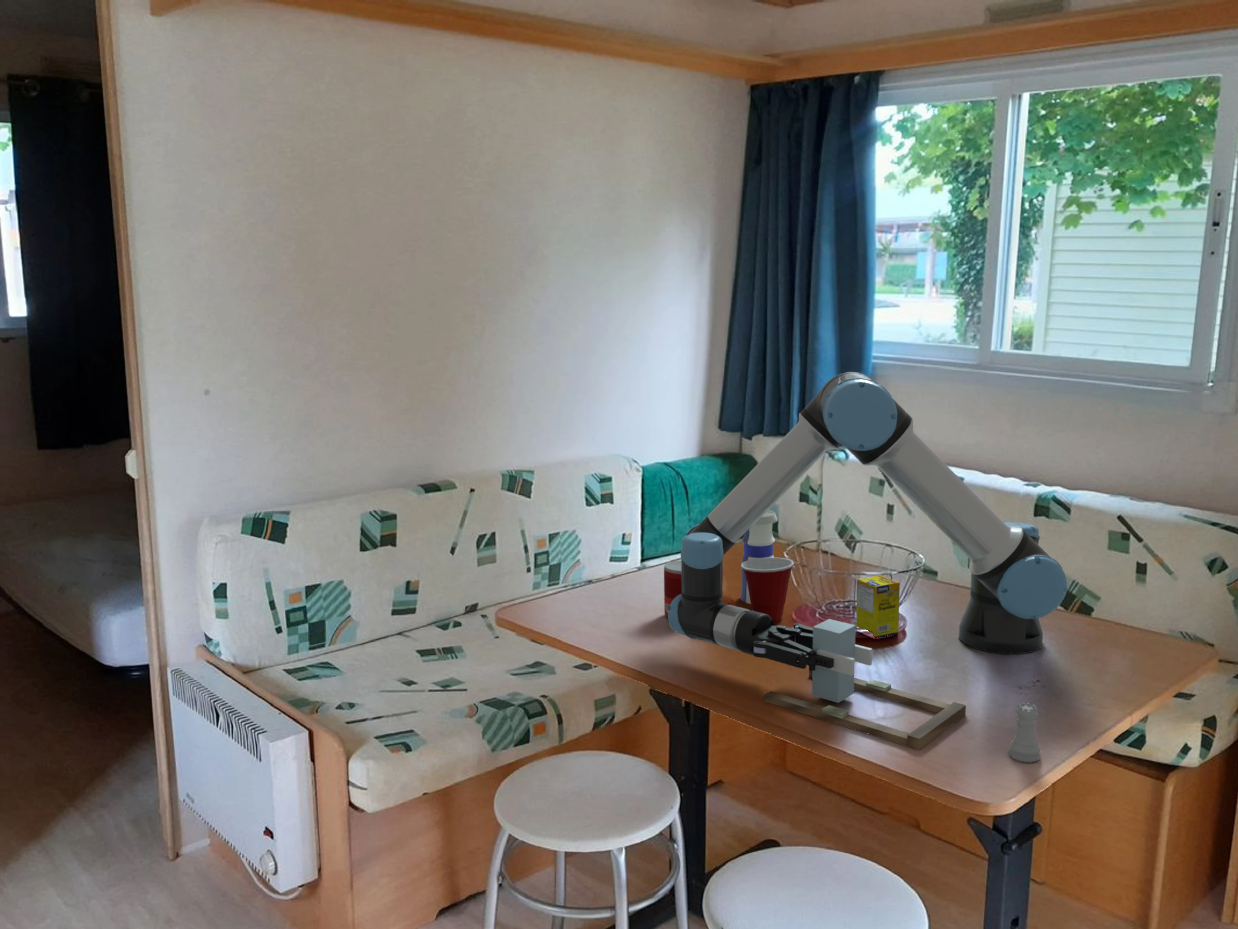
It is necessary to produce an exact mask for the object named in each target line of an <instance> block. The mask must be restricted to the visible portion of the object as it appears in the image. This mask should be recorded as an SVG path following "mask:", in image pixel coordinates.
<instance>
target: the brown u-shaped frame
mask: <svg viewBox="0 0 1238 929" xmlns="http://www.w3.org/2000/svg"><path fill="white" fill-rule="evenodd" d="M808 677H809V678H812V671H810V670H809V669H808ZM854 691H859V692H861V691H862V693H866V694H868V693H869V695H872V696H875V695H876V697H879V696H880V698H882V697H883V699H886V700H889V699H890V701H893V702H897V703H901V704H903V705H907V706H911V707H913V708H918V709H921V710H925V711H928V712H931V713H935V715H933V716H932V717H931V718H929V719H928V720H926V721H925V722H924V723H922V724H921V725H920V726H918V727H917V728H916V729H914V730H912V731H911V732H906V731H904V730H900V729H897V728H893V727H890V726H887V725H883V724H881V723H877V722H873V721H871V720H868V719H864V718H862V717H857V716H854V715H851V714H849V713H850V712H849V710H847V709H844V708H840V707H836V706H833V705H830V704H828V705H827V706H821V705H818V704H815V703H811V702H809V701H805V700H802V699H799V698H795V697H792V696H788V695H786V694H782V693H779V692H775V691H773V690H770V691H768V692H766V693H764V695H763V702H765V703H768V704H770V705H771V704H772V705H774V706H778V707H781V708H784V709H787V710H790V711H794V712H797V713H799V714H803V713H805V714H804V715H806V714H808V715H807V716H809V715H811V716H810V717H812V716H815V717H816V719H819V718H820V719H819V720H822V719H823V721H825V720H826V721H825V722H828V721H829V723H831V722H832V723H833V724H835V723H836V724H835V725H838V724H839V725H838V726H841V725H842V726H841V727H844V726H846V727H845V728H847V727H849V728H848V729H851V728H852V729H851V730H854V729H856V730H855V731H857V730H859V731H858V732H860V731H862V732H861V733H863V732H865V733H864V734H866V733H869V734H868V735H870V736H872V737H876V738H879V737H880V738H879V739H882V738H883V739H882V740H886V741H889V740H890V741H889V742H892V741H893V742H892V743H895V742H896V743H895V744H898V743H899V744H898V745H901V744H902V746H906V747H908V746H909V748H911V747H912V748H911V749H914V748H915V750H917V749H918V751H920V750H921V749H923V748H924V747H925V746H927V745H928V744H930V743H931V742H932V741H933V740H935V739H937V738H938V737H939V736H941V735H942V734H943V733H944V732H945V731H947V730H948V729H950V728H951V727H952V726H954V725H955V724H956V723H958V722H959V721H960V720H961V719H963V718H964V717H966V708H967V707H966V706H967V704H963V703H959V702H957V701H956V702H955V701H952V703H947V702H943V701H940V700H937V699H936V700H935V699H932V698H929V697H924V696H922V695H918V694H915V693H910V692H908V691H905V690H900V689H896V688H892V684H890V683H886V682H883V681H880V680H876V679H873V678H872V679H869V680H865V679H860V678H856V677H854ZM815 717H814V718H815ZM922 747H923V748H922Z"/></svg>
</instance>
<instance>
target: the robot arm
mask: <svg viewBox="0 0 1238 929" xmlns="http://www.w3.org/2000/svg"><path fill="white" fill-rule="evenodd" d="M841 446H843V447H845V448H846V450H848V452H850V454H852V455H853V456H854V457H855V458H856V460H858V462H860V463H861V464H862V465H863V466H869V467H870V466H873V467H877V469H879V470H880V471H881V472H882V473H883V474H884V476H886V477H887V478H888V479H889V480H890V481H891V482H892V483H893V484H894V485H895V486H896V487H897V488H898V489H899V490H900V491H901V492H902V493H903V494H904V496H906V497H907V498H908V499H909V500H910V501H911V502H912V503H913V504H914V505H915V506H916V507H917V508H918V509H919V510H920V511H921V512H922V513H923V514H924V515H925V516H926V517H927V518H928V519H929V520H930V521H931V522H932V523H933V524H934V525H935V526H936V527H937V528H938V529H939V530H940V531H942V533H943V534H944V535H945V536H946V537H947V538H948V539H949V540H951V542H952V543H953V544H954V545H955V546H956V547H957V548H959V550H960V551H961V552H962V553H964V555H965V556H966V557H967V558H968V559H969V562H968V563H969V564H968V565H969V566H968V569H969V572H970V573H971V574H970V595H969V600H968V602H967V603H968V604H967V606H966V608H965V611H964V613H963V615H962V618H961V620H960V623H959V628H958V638H959V640H960V641H961V642H962V643H963V644H966V645H967V646H969V647H970V648H971V647H972V648H974V649H978V650H981V651H985V652H991V653H995V654H996V653H997V654H1009V655H1010V654H1011V655H1013V654H1017V655H1019V654H1027V653H1031V652H1035V651H1037V650H1039V649H1041V647H1042V646H1043V638H1044V637H1043V635H1044V634H1043V630H1042V626H1041V622H1040V618H1043V617H1046V616H1047V615H1049V614H1051V613H1053V612H1054V611H1055V610H1056V609H1057V608H1058V607H1060V605H1061V604H1062V603H1063V600H1064V599H1065V597H1066V593H1067V588H1068V581H1067V576H1066V574H1065V571H1064V569H1063V567H1062V565H1061V564H1060V563H1059V561H1058V560H1056V559H1054V558H1052V557H1051V556H1050V555H1049V554H1048V553H1047V552H1046V551H1045V550H1044V549H1043V548H1042V547H1041V546H1040V545H1039V543H1040V542H1039V541H1040V539H1041V537H1040V532H1039V531H1040V529H1039V528H1038V526H1036V525H1034V524H1031V523H1022V522H1012V521H1011V522H1010V521H1003V520H1002V519H1001V518H1000V517H998V516H997V514H996V513H995V512H994V511H993V510H992V509H990V507H989V506H988V505H987V504H985V502H984V501H983V500H982V499H980V497H979V496H978V495H977V494H976V493H975V492H974V491H973V490H972V488H970V487H969V486H968V485H967V484H965V482H964V481H963V480H962V479H961V478H960V477H959V476H958V475H957V474H956V473H955V472H954V471H953V470H952V469H951V468H950V467H949V466H948V465H947V464H946V463H945V462H944V461H943V460H942V459H941V458H940V457H939V456H938V455H937V454H936V453H935V452H934V451H933V450H932V449H931V448H930V447H929V446H928V445H927V444H926V443H925V442H924V441H923V440H922V439H921V438H920V437H919V436H918V435H917V434H916V432H914V419H913V417H912V416H911V415H910V414H909V413H908V412H907V411H906V410H905V409H904V408H903V407H902V406H901V405H900V404H899V403H898V402H897V401H896V400H895V398H893V397H892V395H891V393H890V392H889V391H888V390H887V389H886V388H885V387H884V386H883V385H881V384H880V383H878V382H877V381H875V380H874V379H873V378H871V377H870V376H868V375H866V374H865V373H861V372H855V371H847V372H844V373H839V374H837V375H836V376H833V377H832V378H830V379H829V380H827V382H826V383H824V385H823V386H822V387H821V389H820V390H819V391H818V392H817V393H816V395H814V397H813V398H812V399H811V400H810V402H809V403H808V404H807V405H806V406H805V407H804V408H803V409H802V410H801V411H800V412H799V413H798V422H797V423H796V424H795V425H794V426H793V427H792V428H791V429H790V430H789V431H788V432H787V434H786V435H785V436H784V437H782V439H781V440H780V441H779V442H778V443H777V444H776V445H774V447H772V449H771V450H770V451H769V452H768V453H767V454H766V455H765V456H764V457H763V458H762V459H761V460H759V462H758V463H757V464H756V465H755V466H754V467H753V469H751V470H750V472H748V474H746V476H744V478H743V479H742V480H741V481H740V482H739V483H738V484H737V485H735V487H734V488H733V489H732V490H731V491H730V492H729V493H727V495H726V496H725V497H724V498H723V499H722V500H721V501H720V502H719V503H718V504H717V505H716V507H715V508H713V509H712V510H711V511H710V512H709V513H708V515H707V516H706V517H705V518H704V519H702V520H701V521H700V523H697V524H696V525H693V526H692V527H690V529H689V530H688V531H687V532H686V534H685V536H684V537H683V538H682V540H681V549H680V558H681V560H680V561H681V573H682V594H680V595H678V596H677V597H675V598H674V600H673V601H672V603H671V605H670V607H671V609H670V611H668V618H667V620H668V621H667V622H668V624H669V626H670V628H671V629H672V630H673V631H674V632H675V633H677V634H680V635H682V636H686V637H687V638H689V639H693V640H697V641H698V640H699V641H703V642H706V643H710V644H715V645H717V646H720V647H725V648H727V649H729V651H732V652H733V651H739V652H741V653H744V654H747V655H750V656H751V655H752V656H753V657H754V658H761V659H766V660H767V659H768V660H770V661H774V662H778V663H780V664H785V665H788V666H791V667H795V668H797V669H800V670H801V669H802V670H803V669H806V668H807V666H808V671H809V670H810V671H814V670H815V665H817V666H818V667H822V668H826V669H829V670H833V671H836V672H840V673H843V674H847V675H851V676H852V675H854V676H855V663H859V664H863V665H866V666H872V665H873V648H872V647H867V646H863V645H859V644H856V643H855V659H854V658H850V657H847V656H843V655H839V654H835V653H832V652H828V651H824V650H820V649H819V650H817V654H816V651H814V650H813V627H811V626H807V625H804V624H802V623H799V622H794V623H793V627H789V626H788V627H787V626H786V625H781V624H779V625H777V624H775V622H773V620H772V619H771V617H770V616H769V615H767V614H764V613H760V612H756V611H752V610H750V609H748V608H745V607H740V606H737V605H736V606H732V605H728V604H724V603H723V602H722V596H723V594H724V593H723V583H724V582H723V581H724V580H723V579H724V578H723V576H724V560H723V559H724V555H725V554H727V553H728V552H729V550H731V549H732V547H733V546H734V545H735V544H736V543H737V542H738V541H739V540H740V539H741V538H743V537H744V535H745V533H746V532H747V531H748V530H749V529H750V528H751V527H752V526H753V525H754V524H755V523H756V522H757V521H758V520H759V519H760V518H761V517H762V516H763V515H764V514H765V513H766V512H767V511H768V510H770V509H771V508H772V506H773V505H775V504H776V503H777V502H778V501H779V500H780V498H781V497H782V496H784V495H785V494H786V493H787V492H788V491H789V490H790V489H791V488H792V487H793V485H795V483H796V482H798V481H799V480H800V479H801V478H802V477H803V476H804V474H806V473H807V472H808V471H809V470H810V469H811V468H812V467H813V465H815V463H817V462H818V460H820V458H822V457H823V455H825V454H826V453H827V452H828V451H831V450H832V451H834V450H837V449H838V448H839V447H841Z"/></svg>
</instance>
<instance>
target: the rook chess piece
mask: <svg viewBox="0 0 1238 929" xmlns="http://www.w3.org/2000/svg"><path fill="white" fill-rule="evenodd" d="M1025 704H1026V703H1025V702H1020V703H1018V705H1017V708H1016V709H1015V710H1014V711H1015V713H1016V715H1017V719H1015V721H1016V724H1017V727H1016V732H1015V736H1014V737H1013V738H1012V741H1010V744H1009V746H1008V747H1009V750H1008V755H1009V756H1010V757H1011V758H1012V759H1013V760H1014V761H1017V762H1020V763H1023V764H1024V763H1025V764H1033V763H1036V762H1038V760H1040V759H1041V754H1040V752H1041V751H1042V750H1041V746H1040V745H1039V743H1038V740H1037V738H1036V725H1037V721H1036V718H1037V717H1038V716H1039V715H1040V713H1039V712H1038V710H1037V706H1036V705H1035V704H1031V703H1029V702H1027V704H1026V705H1025Z"/></svg>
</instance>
